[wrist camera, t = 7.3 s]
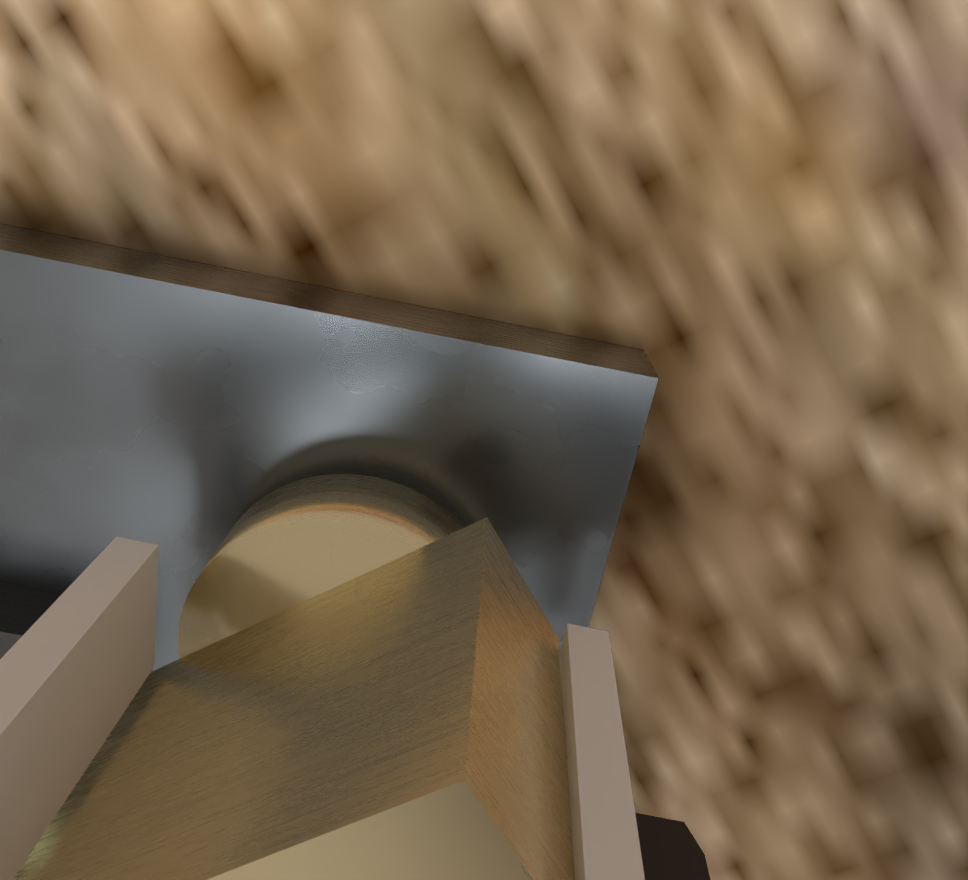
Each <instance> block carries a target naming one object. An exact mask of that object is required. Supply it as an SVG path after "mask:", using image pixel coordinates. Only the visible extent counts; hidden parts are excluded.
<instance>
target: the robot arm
mask: <svg viewBox="0 0 968 880" xmlns="http://www.w3.org/2000/svg"><path fill="white" fill-rule="evenodd" d="M158 555H159V545H158V544H152V543H147V542H142V541H137V540H132V539H127V538H121V537H116V538H115V539H114V540H113V541H112V542H111V543H110V544H109V545H108V546H107V547H106V548H105V549H104V550H103V551H102V552H101V553H100V554H99V556H98V557H97V558H96V559H95V560H94V561H93V562H92V563H91V564H90V565H89V566H88V567H87V568H86V569H85V570H84V571H83V572H82V574H81V575H80V576H79V577H78V578H77V579H76V580H75V581H74V582H73V583H72V584H71V585H70V586H69V587H68V588H67V589H66V590H65V591H64V593H63V594H62V595H61V596H60V597H59V598H58V599H57V600H56V601H55V602H54V603H53V604H52V605H51V606H50V607H49V608H48V609H47V610H46V612H45V613H44V614H43V615H42V616H41V617H40V618H39V619H38V620H37V621H36V622H35V623H34V624H33V625H32V626H31V627H30V628H29V630H28V631H27V632H26V633H25V634H24V635H23V636H22V637H21V638H20V639H19V640H18V641H17V642H16V643H15V644H14V645H13V646H12V647H11V649H10V650H9V651H8V652H7V653H6V654H5V655H4V656H3V657H2V658H1V659H0V880H13V879H14V878H15V876H16V875H17V873H18V872H19V870H20V869H21V867H22V866H23V864H24V863H25V861H26V860H27V858H28V856H29V855H30V853H31V852H32V850H33V849H34V847H35V846H36V844H37V843H38V841H39V840H40V838H41V837H42V835H43V834H44V832H45V831H46V829H47V828H48V826H49V825H50V823H51V822H52V820H53V819H54V817H55V816H56V814H57V813H58V811H59V810H60V808H61V807H62V805H63V804H64V802H65V801H66V799H67V798H68V796H69V795H70V793H71V792H72V790H73V789H74V787H75V786H76V784H77V783H78V781H79V779H80V778H81V776H82V775H83V773H84V772H85V770H86V769H87V767H88V766H89V764H90V763H91V761H92V760H93V758H94V757H95V755H96V754H97V752H98V751H99V749H100V748H101V746H102V745H103V743H104V742H105V740H106V739H107V737H108V736H109V734H110V733H111V731H112V730H113V728H114V727H115V725H116V724H117V722H118V721H119V719H120V718H121V716H122V715H123V713H124V712H125V710H126V709H127V707H128V706H129V704H130V703H131V701H132V699H133V698H134V696H135V695H136V693H137V692H138V690H139V689H140V687H141V686H142V684H143V683H144V681H145V680H146V678H147V677H148V675H149V674H150V672H151V671H152V669H153V668H154V657H155V632H156V606H157V580H158ZM560 664H561V678H562V692H563V706H564V720H565V735H566V750H567V765H568V781H569V796H570V811H571V827H572V842H573V857H574V873H575V880H710V877H709V872H708V868H707V864H706V859H705V855H704V853H703V852H702V850H701V848H700V847H699V845H698V844H697V842H696V840H695V839H694V837H693V836H692V834H691V833H690V831H689V829H688V828H687V826H686V825H685V823H684V822H681V821H676V820H670V819H665V818H660V817H654V816H649V815H644V814H638V813H635V808H634V801H633V795H632V788H631V781H630V774H629V767H628V761H627V754H626V747H625V740H624V733H623V726H622V720H621V713H620V706H619V699H618V692H617V685H616V679H615V672H614V665H613V658H612V651H611V645H610V638H609V631H604V630H599V629H593V628H588V627H583V626H578V625H573V624H568V623H567V627H566V630H565V634H564V637H563V641H562V644H561V648H560Z"/></svg>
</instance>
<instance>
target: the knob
mask: <svg viewBox="0 0 968 880" xmlns="http://www.w3.org/2000/svg"><path fill="white" fill-rule="evenodd" d="M178 650H179V658H180V659H178V660H176V661H174V662H172V663H170V664H167V665H165V666H163V667H161V668H159V669H156V670H154V671H152V672H150V674H149V675H148V677H147V678H146V680H145V681H144V683H143V684H142V686H141V687H140V689H139V690H138V692H137V693H136V695H135V696H134V698H133V699H132V701H131V703H130V704H129V706H128V707H127V709H126V710H125V712H124V713H123V715H122V716H121V718H120V719H119V721H118V722H117V724H116V725H115V727H114V728H113V730H112V731H111V733H110V734H109V736H108V737H107V739H106V740H105V742H104V743H103V745H102V746H101V748H100V749H99V751H98V752H97V754H96V755H95V757H94V758H93V760H92V761H91V763H90V764H89V766H88V767H87V769H86V770H85V772H84V773H83V775H82V776H81V778H80V779H79V781H78V783H77V784H76V786H75V787H74V789H73V790H72V792H71V793H70V795H69V796H68V798H67V799H66V801H65V802H64V804H63V805H62V807H61V808H60V810H59V811H58V813H57V814H56V816H55V817H54V819H53V820H52V822H51V823H50V825H49V826H48V828H47V829H46V831H45V832H44V834H43V835H42V837H41V838H40V840H39V841H38V843H37V844H36V846H35V847H34V849H33V850H32V852H31V853H30V855H29V856H28V858H27V860H26V861H25V863H24V864H23V866H22V867H21V869H20V870H19V872H18V873H17V875H16V876H15V878H14V879H13V880H575V873H574V857H573V842H572V827H571V811H570V796H569V781H568V765H567V750H566V735H565V720H564V706H563V692H562V678H561V664H560V650H559V638H558V636H557V635H556V633H555V631H554V630H553V628H552V626H551V625H550V623H549V621H548V620H547V618H546V616H545V615H544V613H543V611H542V609H541V608H540V606H539V604H538V603H537V601H536V599H535V598H534V596H533V594H532V593H531V591H530V589H529V588H528V586H527V584H526V582H525V581H524V579H523V577H522V576H521V574H520V572H519V571H518V569H517V567H516V566H515V564H514V562H513V561H512V559H511V557H510V556H509V554H508V552H507V550H506V549H505V547H504V545H503V544H502V542H501V540H500V539H499V537H498V535H497V534H496V532H495V530H494V529H493V527H492V525H491V524H490V522H489V520H488V518H487V517H486V518H484V519H482V520H480V521H478V522H475V523H473V524H471V525H469V526H467V527H464V525H463V524H462V523H461V522H460V521H459V520H458V519H457V518H456V517H455V516H454V515H452V514H451V513H450V512H449V511H448V510H446V509H445V508H444V507H443V506H441V505H440V504H438V503H437V502H435V501H434V500H432V499H431V498H429V497H428V496H426V495H424V494H422V493H420V492H418V491H416V490H414V489H412V488H410V487H407V486H404V485H402V484H399V483H396V482H393V481H390V480H386V479H382V478H377V477H373V476H365V475H356V474H330V475H323V476H316V477H310V478H307V479H303V480H299V481H296V482H293V483H290V484H288V485H286V486H283V487H281V488H278V489H276V490H275V491H273V492H271V493H270V494H268V495H266V496H265V497H263V498H261V499H260V500H259V501H258V502H256V503H255V504H254V505H253V506H251V507H250V508H249V509H248V510H247V511H246V512H245V513H244V514H243V515H242V516H241V517H240V519H239V520H238V521H237V522H236V523H235V525H234V526H233V528H232V529H231V531H230V532H229V533H228V535H227V536H226V538H225V539H224V541H223V542H222V543H221V545H220V546H219V548H218V549H217V551H216V552H215V553H214V555H213V556H212V558H211V559H210V561H209V562H208V563H207V565H206V566H205V568H204V569H203V571H202V572H201V574H200V575H199V577H198V578H197V580H196V581H195V582H194V584H193V585H192V587H191V589H190V591H189V593H188V596H187V598H186V600H185V602H184V605H183V609H182V613H181V616H180V620H179V630H178Z"/></svg>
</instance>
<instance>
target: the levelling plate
mask: <svg viewBox="0 0 968 880" xmlns="http://www.w3.org/2000/svg"><path fill="white" fill-rule="evenodd" d="M658 379H659V378H658V376H657V374H656V372H655V371H654V369H653V367H652V365H651V363H650V361H649V359H648V357H647V355H646V353H645V351H644V350H641V349H636V348H631V347H625V346H620V345H615V344H610V343H605V342H600V341H595V340H590V339H585V338H580V337H575V336H569V335H564V334H559V333H554V332H549V331H544V330H539V329H534V328H529V327H524V326H519V325H514V324H508V323H503V322H498V321H493V320H488V319H483V318H478V317H473V316H468V315H463V314H458V313H452V312H447V311H442V310H437V309H432V308H427V307H422V306H417V305H412V304H407V303H402V302H397V301H391V300H386V299H381V298H376V297H371V296H366V295H361V294H356V293H351V292H346V291H341V290H335V289H330V288H325V287H320V286H315V285H310V284H305V283H300V282H295V281H290V280H285V279H280V278H274V277H269V276H264V275H259V274H254V273H249V272H244V271H239V270H234V269H229V268H224V267H218V266H213V265H208V264H203V263H198V262H193V261H188V260H183V259H178V258H173V257H168V256H162V255H157V254H152V253H147V252H142V251H137V250H132V249H127V248H122V247H117V246H112V245H107V244H101V243H96V242H91V241H86V240H81V239H76V238H71V237H66V236H61V235H56V234H51V233H45V232H40V231H35V230H30V229H25V228H20V227H15V226H10V225H5V224H0V659H1V658H2V657H3V656H4V655H5V654H6V653H7V652H8V651H9V650H10V649H11V647H12V646H13V645H14V644H15V643H16V642H17V641H18V640H19V639H20V638H21V637H22V636H23V635H24V634H25V633H26V632H27V631H28V630H29V628H30V627H31V626H32V625H33V624H34V623H35V622H36V621H37V620H38V619H39V618H40V617H41V616H42V615H43V614H44V613H45V612H46V610H47V609H48V608H49V607H50V606H51V605H52V604H53V603H54V602H55V601H56V600H57V599H58V598H59V597H60V596H61V595H62V594H63V593H64V591H65V590H66V589H67V588H68V587H69V586H70V585H71V584H72V583H73V582H74V581H75V580H76V579H77V578H78V577H79V576H80V575H81V574H82V572H83V571H84V570H85V569H86V568H87V567H88V566H89V565H90V564H91V563H92V562H93V561H94V560H95V559H96V558H97V557H98V556H99V554H100V553H101V552H102V551H103V550H104V549H105V548H106V547H107V546H108V545H109V544H110V543H111V542H112V541H113V540H114V539H115V538H116V537H121V538H127V539H132V540H137V541H142V542H147V543H152V544H158V545H159V555H158V580H157V606H156V632H155V657H154V668H153V669H152V671H154V670H156V669H159V668H161V667H163V666H165V665H167V664H170V663H172V662H174V661H176V660H178V659H180V658H179V650H178V630H179V620H180V616H181V613H182V609H183V605H184V602H185V600H186V598H187V596H188V593H189V591H190V589H191V587H192V585H193V584H194V582H195V581H196V580H197V578H198V577H199V575H200V574H201V572H202V571H203V569H204V568H205V566H206V565H207V563H208V562H209V561H210V559H211V558H212V556H213V555H214V553H215V552H216V551H217V549H218V548H219V546H220V545H221V543H222V542H223V541H224V539H225V538H226V536H227V535H228V533H229V532H230V531H231V529H232V528H233V526H234V525H235V523H236V522H237V521H238V520H239V519H240V517H241V516H242V515H243V514H244V513H245V512H246V511H247V510H248V509H249V508H250V507H251V506H253V505H254V504H255V503H256V502H258V501H259V500H260V499H261V498H263V497H265V496H266V495H268V494H270V493H271V492H273V491H275V490H276V489H278V488H281V487H283V486H286V485H288V484H290V483H293V482H296V481H299V480H303V479H307V478H310V477H316V476H323V475H330V474H356V475H365V476H373V477H377V478H382V479H386V480H390V481H393V482H396V483H399V484H402V485H404V486H407V487H410V488H412V489H414V490H416V491H418V492H420V493H422V494H424V495H426V496H428V497H429V498H431V499H432V500H434V501H435V502H437V503H438V504H440V505H441V506H443V507H444V508H445V509H446V510H448V511H449V512H450V513H451V514H452V515H454V516H455V517H456V518H457V519H458V520H459V521H460V522H461V523H462V524H463V525H464V527H467V526H469V525H471V524H473V523H475V522H478V521H480V520H482V519H484V518H486V517H487V518H488V520H489V522H490V524H491V525H492V527H493V529H494V530H495V532H496V534H497V535H498V537H499V539H500V540H501V542H502V544H503V545H504V547H505V549H506V550H507V552H508V554H509V556H510V557H511V559H512V561H513V562H514V564H515V566H516V567H517V569H518V571H519V572H520V574H521V576H522V577H523V579H524V581H525V582H526V584H527V586H528V588H529V589H530V591H531V593H532V594H533V596H534V598H535V599H536V601H537V603H538V604H539V606H540V608H541V609H542V611H543V613H544V615H545V616H546V618H547V620H548V621H549V623H550V625H551V626H552V628H553V630H554V631H555V633H556V635H557V636H558V638H559V650H560V648H561V644H562V641H563V637H564V634H565V630H566V627H567V623H568V624H573V625H578V626H583V627H588V625H589V622H590V618H591V615H592V611H593V608H594V604H595V601H596V597H597V594H598V590H599V587H600V583H601V580H602V576H603V573H604V569H605V565H606V562H607V558H608V555H609V551H610V548H611V544H612V541H613V537H614V534H615V530H616V527H617V523H618V520H619V516H620V513H621V509H622V506H623V502H624V499H625V495H626V492H627V488H628V484H629V481H630V477H631V474H632V470H633V467H634V463H635V460H636V456H637V453H638V449H639V446H640V442H641V439H642V435H643V432H644V428H645V425H646V421H647V418H648V414H649V410H650V407H651V403H652V400H653V396H654V393H655V389H656V386H657V382H658ZM152 671H151V672H152Z"/></svg>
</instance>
